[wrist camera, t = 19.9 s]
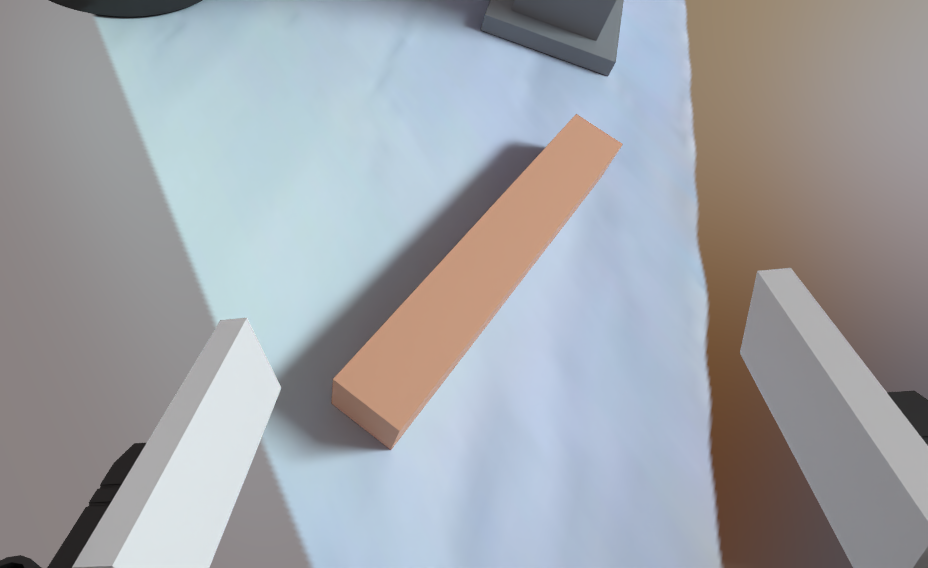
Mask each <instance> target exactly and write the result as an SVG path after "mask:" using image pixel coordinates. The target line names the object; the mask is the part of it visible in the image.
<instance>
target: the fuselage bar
mask: <svg viewBox="0 0 928 568" xmlns="http://www.w3.org/2000/svg"><path fill="white" fill-rule="evenodd" d="M622 145H623V144H622V143H620V142H619V141H617V140H616V139H614V138H612V137H611V136H609V135H608V134H606V133H605V132H603V131H602V130H600V129H599V128H597V127H596V126H594V125H592V124H591V123H589V122H588V121H586V120H585V119H583V118H582V117H580V116H579V115H577V114H576V115H575V116H574V117H573V118H572V119H571V120H570V121H569V122H568V123H567V125H566V126H565V127H564V128H563V129H562V130H561V131H560V132H559V133H558V134H557V135H556V137H555V138H554V139H553V140H552V141H551V142H550V143H549V144H548V145H547V146H546V147H545V149H544V150H543V151H542V152H541V153H540V154H539V155H538V156H537V157H536V158H535V159H534V161H533V162H532V163H531V164H530V165H529V166H528V167H527V168H526V169H525V170H524V171H523V173H522V174H521V175H520V176H519V177H518V178H517V179H516V180H515V181H514V182H513V183H512V185H511V186H510V187H509V188H508V189H507V190H506V191H505V192H504V193H503V194H502V195H501V197H500V198H499V199H498V200H497V201H496V202H495V203H494V204H493V205H492V206H491V207H490V208H489V210H488V211H487V212H486V213H485V214H484V215H483V216H482V217H481V218H480V219H479V220H478V222H477V223H476V224H475V225H474V226H473V227H472V228H471V229H470V230H469V231H468V232H467V234H466V235H465V236H464V237H463V238H462V239H461V240H460V241H459V242H458V243H457V244H456V246H455V247H454V248H453V249H452V250H451V251H450V252H449V253H448V254H447V255H446V256H445V258H444V259H443V260H442V261H441V262H440V263H439V264H438V265H437V266H436V267H435V268H434V270H433V271H432V272H431V273H430V274H429V275H428V276H427V277H426V278H425V279H424V280H423V282H422V283H421V284H420V285H419V286H418V287H417V288H416V289H415V290H414V291H413V292H412V294H411V295H410V296H409V297H408V298H407V299H406V300H405V301H404V302H403V303H402V304H401V306H400V307H399V308H398V309H397V310H396V311H395V312H394V313H393V314H392V315H391V316H390V317H389V319H388V320H387V321H386V322H385V323H384V324H383V325H382V326H381V327H380V328H379V329H378V331H377V332H376V333H375V334H374V335H373V336H372V337H371V338H370V339H369V340H368V341H367V343H366V344H365V345H364V346H363V347H362V348H361V349H360V350H359V351H358V352H357V353H356V355H355V356H354V357H353V358H352V359H351V360H350V361H349V362H348V363H347V364H346V365H345V367H344V368H343V369H342V370H341V371H340V372H339V373H338V374H337V375H336V376H335V377H334V379H333V386H332V402H331V403H332V404H333V405H334V406H335V407H337V408H338V409H339V410H341V411H342V412H343V413H344V414H346V415H347V416H348V417H349V418H351V419H352V420H353V421H355V422H356V423H357V424H358V425H360V426H361V427H362V428H363V429H365V430H366V431H367V432H368V433H370V434H371V435H372V436H374V437H375V438H376V439H377V440H379V441H380V442H381V443H382V444H384V445H385V446H386V447H388V448H389V449H390V450H391V449H392V448H393V447H394V445H395V444H396V443H397V442H398V440H399V439H400V438H401V436H402V435H403V434H404V432H405V431H406V430H407V429H408V427H409V426H410V425H411V423H412V422H413V421H414V419H415V418H416V417H417V416H418V414H419V413H420V412H421V410H422V409H423V408H424V406H425V405H426V404H427V403H428V401H429V400H430V399H431V397H432V396H433V395H434V394H435V392H436V391H437V390H438V388H439V387H440V386H441V384H442V383H443V382H444V381H445V379H446V378H447V377H448V375H449V374H450V373H451V371H452V370H453V369H454V368H455V366H456V365H457V364H458V362H459V361H460V360H461V358H462V357H463V356H464V355H465V353H466V352H467V351H468V349H469V348H470V347H471V345H472V344H473V343H474V342H475V340H476V339H477V338H478V336H479V335H480V334H481V333H482V331H483V330H484V329H485V327H486V326H487V325H488V323H489V322H490V321H491V320H492V318H493V317H494V316H495V314H496V313H497V312H498V310H499V309H500V308H501V307H502V305H503V304H504V303H505V301H506V300H507V299H508V297H509V296H510V295H511V294H512V292H513V291H514V290H515V288H516V287H517V286H518V285H519V283H520V282H521V281H522V279H523V278H524V277H525V275H526V274H527V273H528V272H529V270H530V269H531V268H532V266H533V265H534V264H535V262H536V261H537V260H538V259H539V257H540V256H541V255H542V253H543V252H544V251H545V249H546V248H547V247H548V246H549V244H550V243H551V242H552V240H553V239H554V238H555V237H556V235H557V234H558V233H559V231H560V230H561V229H562V227H563V226H564V225H565V224H566V222H567V221H568V220H569V218H570V217H571V216H572V214H573V213H574V212H575V211H576V209H577V208H578V207H579V205H580V204H581V203H582V201H583V200H584V199H585V198H586V196H587V195H588V194H589V192H590V191H591V190H592V189H593V187H594V186H595V185H596V183H597V182H598V181H599V179H600V178H601V177H602V175H603V174H604V172H605V171H606V169H607V167H608V166H609V164H610V163H611V161H612V160H613V158H614V157H615V155H616V154H617V152H618V151H619V149H620V148H621V146H622Z"/></svg>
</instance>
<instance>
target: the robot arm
mask: <svg viewBox="0 0 928 568" xmlns="http://www.w3.org/2000/svg"><path fill="white" fill-rule="evenodd" d="M49 1H51V2H54V3H56V4H59V5H62V6H65V7H68V8H71V9H74V10H78V11H83V12H88V13H93V14H99V15H108V16H125V17H132V16H149V15H157V14H163V13H168V12H173V11H177V10H180V9H183V8H186V7H189V6H191V5H194V4H196V3H198V2H200V1H202V0H49ZM740 354H741V356H742V358H743V359H744V362H745V363H746V365H747V367H748V369H749V371H750V373H751V375H752V377H753V379H754V380H755V382H756V384H757V386H758V388H759V390H760V392H761V394H762V396H763V397H764V399H765V401H766V403H767V405H768V407H769V409H770V411H771V413H772V415H773V416H774V418H775V420H776V422H777V424H778V426H779V428H780V430H781V432H782V434H783V435H784V437H785V439H786V441H787V443H788V445H789V447H790V449H791V450H792V452H793V454H794V456H795V458H796V460H797V462H798V464H799V466H800V468H801V469H802V471H803V473H804V475H805V477H806V479H807V481H808V483H809V485H810V487H811V488H812V490H813V492H814V494H815V496H816V498H817V500H818V502H819V504H820V506H821V507H822V509H823V511H824V513H825V515H826V517H827V519H828V520H829V522H830V524H831V526H832V528H833V530H834V532H835V534H836V536H837V538H838V540H839V541H840V543H841V545H842V547H843V549H844V551H845V553H846V555H847V557H848V559H849V560H850V562H851V564H852V566H853V568H928V400H927V399H926V398H924V397H922V396H921V395H920V394H918V393H917V392H915V391H903V392H889V393H887V392H886V391H885V390H884V389H883V387H882V386H881V385H880V383H879V382H878V381H877V379H876V378H875V377H874V375H873V374H872V373H871V371H870V370H869V369H868V368H867V366H866V365H865V364H864V362H863V361H862V360H861V359H860V357H859V356H858V355H857V353H856V352H855V351H854V349H853V348H852V347H851V346H850V344H849V343H848V342H847V340H846V339H845V338H844V337H843V335H842V334H841V333H840V332H839V330H838V329H837V327H836V326H835V325H834V323H833V322H832V321H831V320H830V318H829V317H828V316H827V314H826V313H825V312H824V310H823V309H822V308H821V307H820V305H819V304H818V303H817V302H816V300H815V299H814V298H813V296H812V295H811V294H810V292H809V291H808V290H807V288H806V287H805V286H804V285H803V283H802V282H801V281H800V279H799V278H798V277H797V275H796V274H795V273H794V272H793V270H792V269H791V268H785V269H774V270H763V271H757V275H756V280H755V285H754V290H753V295H752V299H751V304H750V309H749V313H748V318H747V323H746V328H745V332H744V337H743V342H742V346H741V351H740ZM280 390H281V386H280V384H279V382H278V380H277V378H276V376H275V374H274V372H273V370H272V368H271V366H270V363H269V361H268V359H267V357H266V355H265V353H264V351H263V349H262V347H261V345H260V343H259V341H258V339H257V337H256V335H255V333H254V331H253V329H252V327H251V325H250V323H249V321H248V319H247V318H239V319H229V320H220V322H219V323H218V325H217V327H216V328H215V330H214V332H213V334H212V335H211V337H210V338H209V340H208V342H207V343H206V345H205V347H204V348H203V350H202V352H201V353H200V355H199V357H198V358H197V360H196V362H195V363H194V365H193V367H192V368H191V370H190V372H189V374H188V375H187V377H186V378H185V380H184V382H183V383H182V385H181V387H180V388H179V390H178V392H177V393H176V395H175V397H174V398H173V400H172V402H171V404H170V405H169V407H168V408H167V410H166V412H165V413H164V415H163V417H162V418H161V420H160V422H159V423H158V425H157V427H156V428H155V430H154V432H153V433H152V435H151V437H150V438H149V440H148V442H147V443H135V444H133V445H132V446H131V447H130V448H129V449H128V450H127V451H126V452H125V453H124V454H123V455H122V456H121V457H120V458H119V459H118V460H117V461H116V462H115V463H114V464H113V465H112V467H111V469H110V470H109V472H108V473H107V475H106V476H105V478H104V480H103V481H102V483H101V485H100V486H101V487H100V489H97V491H96V492H95V494H94V495H93V497H92V498H91V500H90V502H89V506H88V507H86V508H85V509H84V511H83V513H82V514H81V516H80V517H79V519H78V520H77V522H76V524H75V525H74V527H73V528H72V530H71V531H70V533H69V535H68V536H67V538H66V539H65V541H64V542H63V544H62V546H61V547H60V549H59V550H58V552H57V553H56V555H55V557H54V558H53V560H52V561H51V563H50V564H49V566H48V568H209V567H210V564H211V562H212V559H213V556H214V554H215V552H216V549H217V547H218V544H219V542H220V540H221V537H222V534H223V532H224V530H225V527H226V525H227V522H228V519H229V517H230V514H231V512H232V510H233V507H234V505H235V502H236V500H237V497H238V495H239V492H240V490H241V487H242V485H243V482H244V480H245V477H246V475H247V472H248V470H249V467H250V465H251V462H252V460H253V457H254V455H255V452H256V450H257V447H258V445H259V443H260V440H261V438H262V435H263V433H264V430H265V428H266V425H267V423H268V420H269V418H270V415H271V413H272V410H273V408H274V405H275V403H276V400H277V398H278V395H279V393H280ZM0 568H41V567H40V566H39V565H37V564H36V563H35V562H34V561H32V560H31V559H30V558H27V557H24V556H21V555H20V556H14V557H7V558H5V559H3V560H0Z"/></svg>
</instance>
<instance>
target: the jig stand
mask: <svg viewBox="0 0 928 568" xmlns="http://www.w3.org/2000/svg"><path fill="white" fill-rule="evenodd" d="M623 1H624V0H490V3H489V5H488V8H487V11H486V13H485V16H484V20H483V23H482V27H481V30H482V31H484V32H487V33H490V34H493V35H495V36H498V37H501V38H504V39H507V40H509V41H512V42H515V43H518V44H520V45H523V46H526V47H529V48H531V49H534V50H537V51H540V52H542V53H545V54H548V55H551V56H553V57H556V58H559V59H562V60H565V61H567V62H570V63H573V64H576V65H578V66H581V67H584V68H587V69H589V70H592V71H595V72H598V73H600V74H603V75H606V76H608V75H609V73H610V71H611V70H612V68H613V66H614V64H615V62H616V55H617V47H618V39H619V32H620V24H621V16H622V8H623Z"/></svg>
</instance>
